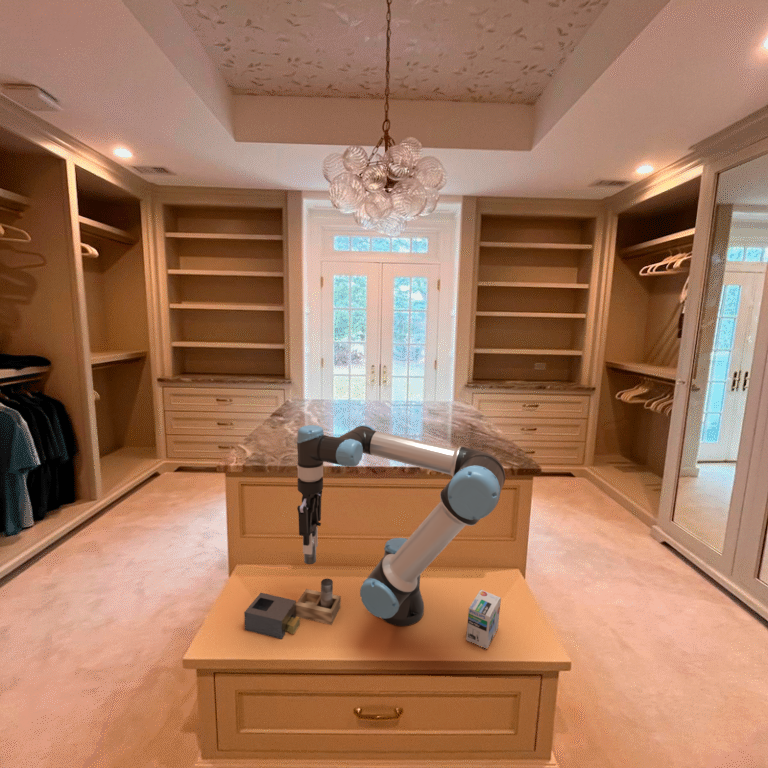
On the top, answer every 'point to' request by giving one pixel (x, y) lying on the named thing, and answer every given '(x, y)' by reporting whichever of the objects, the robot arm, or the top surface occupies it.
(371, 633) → the top surface
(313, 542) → the grey peg
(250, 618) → the socket block
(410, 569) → the robot arm
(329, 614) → the rack
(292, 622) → the yellow rectangular block
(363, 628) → the top surface
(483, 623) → the light bulb box
